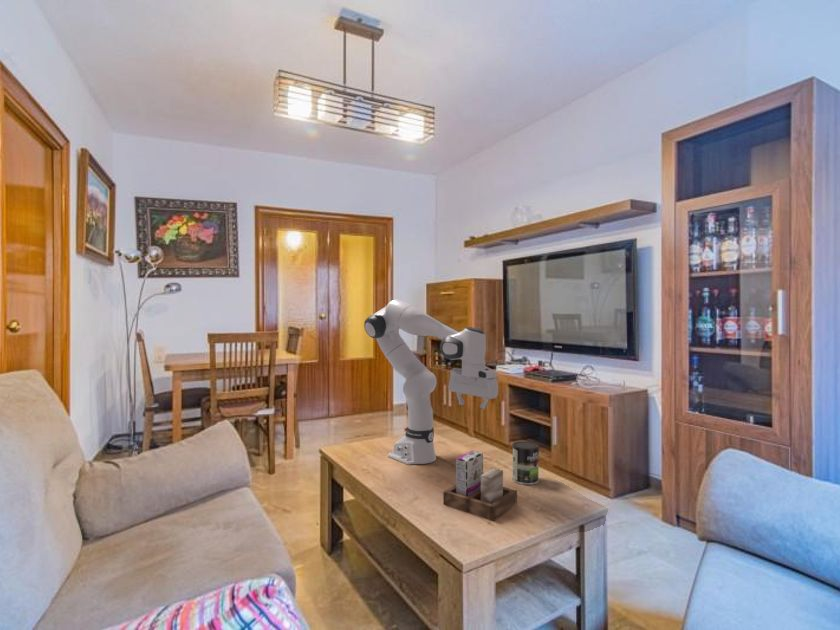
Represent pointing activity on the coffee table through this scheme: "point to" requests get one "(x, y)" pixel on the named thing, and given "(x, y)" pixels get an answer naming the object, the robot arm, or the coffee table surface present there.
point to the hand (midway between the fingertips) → (471, 406)
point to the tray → (484, 497)
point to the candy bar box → (469, 473)
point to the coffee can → (525, 462)
